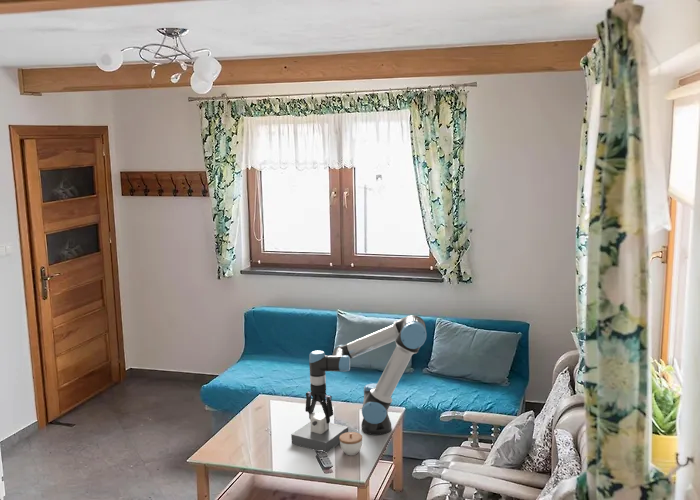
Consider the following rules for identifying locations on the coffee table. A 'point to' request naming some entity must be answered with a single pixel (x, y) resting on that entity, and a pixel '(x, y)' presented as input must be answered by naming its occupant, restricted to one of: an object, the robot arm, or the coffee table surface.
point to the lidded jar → (350, 442)
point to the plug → (318, 423)
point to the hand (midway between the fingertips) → (319, 427)
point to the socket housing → (318, 437)
